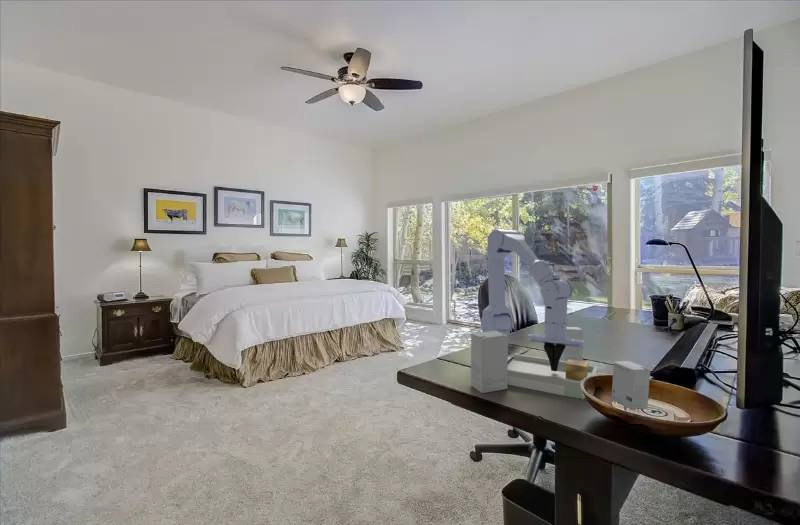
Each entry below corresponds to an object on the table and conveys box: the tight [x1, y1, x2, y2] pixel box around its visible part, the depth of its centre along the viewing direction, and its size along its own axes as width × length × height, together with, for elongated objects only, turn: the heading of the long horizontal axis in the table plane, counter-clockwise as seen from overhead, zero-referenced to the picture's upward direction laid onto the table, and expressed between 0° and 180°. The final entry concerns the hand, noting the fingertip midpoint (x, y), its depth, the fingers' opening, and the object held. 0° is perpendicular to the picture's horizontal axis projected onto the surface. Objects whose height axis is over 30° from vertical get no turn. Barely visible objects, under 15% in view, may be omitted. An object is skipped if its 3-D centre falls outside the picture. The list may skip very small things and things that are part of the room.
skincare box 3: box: [610, 360, 651, 410], centre depth 81 cm, size 6×4×12 cm
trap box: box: [507, 353, 599, 400], centre depth 105 cm, size 24×18×4 cm
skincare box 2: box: [560, 326, 584, 362], centre depth 121 cm, size 6×4×12 cm
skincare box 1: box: [470, 331, 509, 394], centre depth 99 cm, size 8×6×15 cm
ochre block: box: [566, 359, 589, 381], centre depth 101 cm, size 5×5×4 cm
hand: (554, 370), depth 104 cm, fingers closed
